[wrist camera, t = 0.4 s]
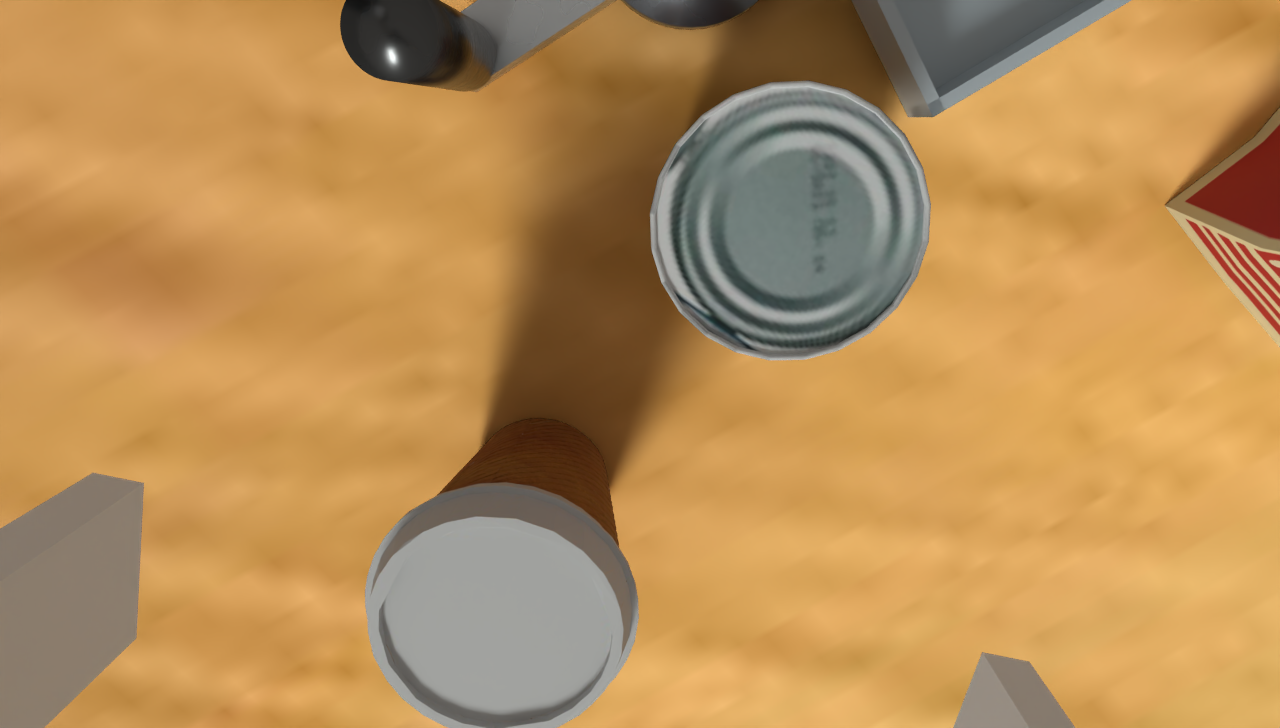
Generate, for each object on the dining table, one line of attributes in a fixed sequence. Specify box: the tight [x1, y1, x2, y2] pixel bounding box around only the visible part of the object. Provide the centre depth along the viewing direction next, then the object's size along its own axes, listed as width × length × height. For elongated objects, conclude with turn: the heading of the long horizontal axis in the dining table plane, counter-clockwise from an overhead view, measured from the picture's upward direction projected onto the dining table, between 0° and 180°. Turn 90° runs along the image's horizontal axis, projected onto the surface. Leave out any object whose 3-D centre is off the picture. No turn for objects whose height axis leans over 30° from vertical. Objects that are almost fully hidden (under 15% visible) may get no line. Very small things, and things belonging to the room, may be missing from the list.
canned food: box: [650, 81, 931, 360], centre depth 29 cm, size 8×8×12 cm
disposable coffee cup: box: [365, 418, 639, 728], centre depth 33 cm, size 10×10×12 cm
